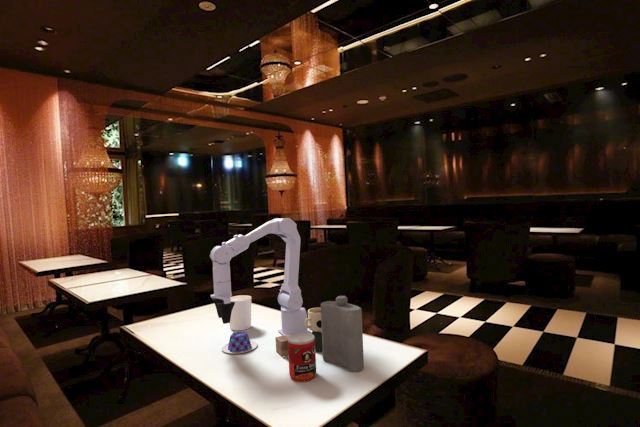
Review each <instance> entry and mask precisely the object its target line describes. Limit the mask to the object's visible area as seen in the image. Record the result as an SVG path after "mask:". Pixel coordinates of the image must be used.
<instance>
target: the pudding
mask: <svg viewBox="0 0 640 427" xmlns="http://www.w3.org/2000/svg"><path fill="white" fill-rule="evenodd" d="M257 347H258V342H256V341H254V340H250V336H249V333H248V332H247V331H245V330H240V331H234V332H232V333H231V335H230V337H229V340H228V343H227V344H225V345H223V346H222V347H221V350H222V352H224V353H226V354H237V353H238V354H243V353H244V354H245V353H248V352H250V351H252V350H254V349H256V348H257Z"/></svg>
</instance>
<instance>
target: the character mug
mask: <svg viewBox="0 0 640 427" xmlns="http://www.w3.org/2000/svg"><path fill="white" fill-rule="evenodd" d="M305 327H306V328H308V331H311V334H313V335H314V337H315V351H323V348H322V324H321V306H320V307H312V308H309V309H307V318H306V319H305Z"/></svg>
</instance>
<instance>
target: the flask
mask: <svg viewBox="0 0 640 427" xmlns="http://www.w3.org/2000/svg"><path fill="white" fill-rule="evenodd" d="M320 307H321V324H322V348H323V350H322V359H323V360H324V361H325V362H328V363H332V364H334V365H335V364H336V365H338V366H341V367H343V368H345V369H347V370H349V371H350V372H352V373H353V372H354V373H355V372H361V371H363V370H364V369H365V361H364V360H365V358H364V338H363V337H364V336H363V334H364V333H363V313H362V312H363V311H362V307H360V306H358V305H356V304H352V303H348V297H347V296H346V295H339V296H338V295H337V297H336V298H335V300H327V301H322V302H321V303H320Z"/></svg>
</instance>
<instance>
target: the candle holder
mask: <svg viewBox="0 0 640 427" xmlns="http://www.w3.org/2000/svg"><path fill="white" fill-rule="evenodd" d="M252 298H253V297H252V296H251V295H246V294H245V295H244V294H242V295H241V294H239V295H235V296H233V295H232V296H231V298H230V301H231V302H235V305H234V307H233V309H232V313H231V319H230V323H229V329H230V330H231V331H234V332H241V331H245V330H248V329H250V328H251V326H252Z"/></svg>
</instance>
